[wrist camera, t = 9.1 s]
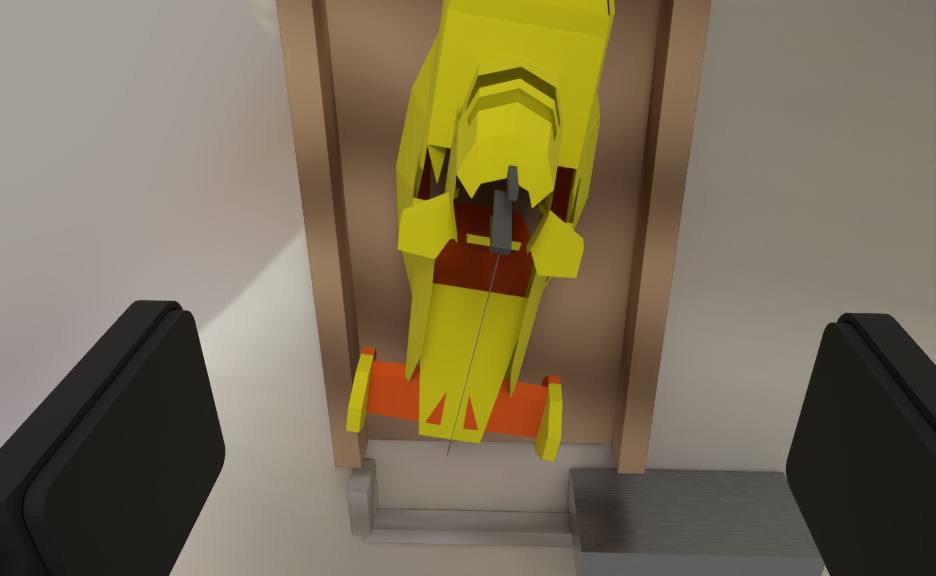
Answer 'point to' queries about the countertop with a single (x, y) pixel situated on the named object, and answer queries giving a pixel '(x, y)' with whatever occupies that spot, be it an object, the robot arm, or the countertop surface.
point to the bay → (600, 224)
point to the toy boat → (490, 214)
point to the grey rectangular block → (688, 524)
